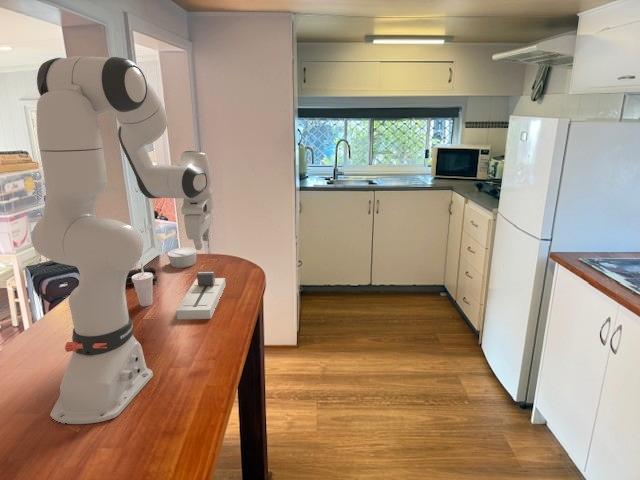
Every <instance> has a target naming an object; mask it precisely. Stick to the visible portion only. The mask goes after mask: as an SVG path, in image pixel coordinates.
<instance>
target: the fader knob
mask: <svg viewBox="0 0 640 480" xmlns="http://www.w3.org/2000/svg"><path fill="white" fill-rule="evenodd" d="M215 278H216V276H215V271H214V270H208V271H207V270H204V271H203V270H201V271H198V272H197V274H196V279H197V280H198V286H213V285H214V283H215Z"/></svg>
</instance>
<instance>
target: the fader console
mask: <svg viewBox="0 0 640 480" xmlns="http://www.w3.org/2000/svg"><path fill="white" fill-rule="evenodd" d="M224 288H225V289H226V278H225V277H217V278H216V277H215V283H214V285H213V286H198V280H197V278H195V280H194V281H193V283H192V284H191V286H190V287H189V289H188V290H187V293H186V294H185V295H184V297H183V299H182V300H181V302H180V303H179V305H178V307H177V308H176V309H175V313H176V314H175V315H176V320H211V319H212V317H213V316H214V313H215V310H216V309H215V308H217V306H218V304H219V302H220V300H221V298H222V295H223V293H224V291H225V289H224ZM223 290H224V291H223ZM220 297H221V298H220ZM219 299H220V300H219Z"/></svg>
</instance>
